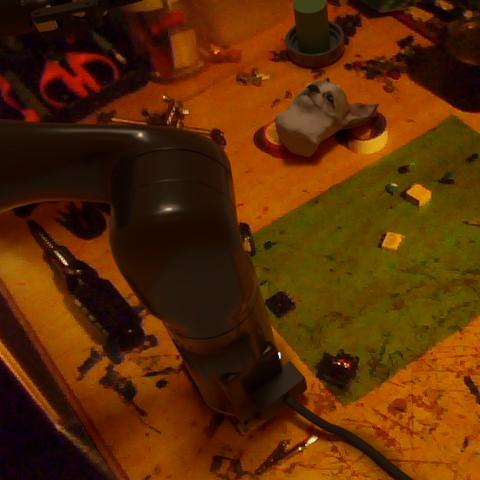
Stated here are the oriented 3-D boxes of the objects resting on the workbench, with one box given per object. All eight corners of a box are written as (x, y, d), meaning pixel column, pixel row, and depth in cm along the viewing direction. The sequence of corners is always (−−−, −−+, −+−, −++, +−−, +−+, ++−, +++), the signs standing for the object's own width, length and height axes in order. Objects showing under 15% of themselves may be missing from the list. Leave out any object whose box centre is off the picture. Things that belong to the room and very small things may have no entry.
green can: (337, 47, 104) (333, 2, 98) (312, 62, 103) (307, 17, 96) (316, 33, 107) (312, -12, 100) (292, 47, 105) (286, 2, 99)
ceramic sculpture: (247, 96, 87) (323, 42, 93) (255, 145, 93) (325, 91, 100) (309, 132, 82) (384, 72, 89) (312, 181, 89) (382, 122, 96)
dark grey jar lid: (356, 50, 104) (355, 36, 102) (311, 77, 101) (309, 64, 99) (319, 24, 109) (318, 11, 107) (275, 50, 106) (273, 37, 104)
